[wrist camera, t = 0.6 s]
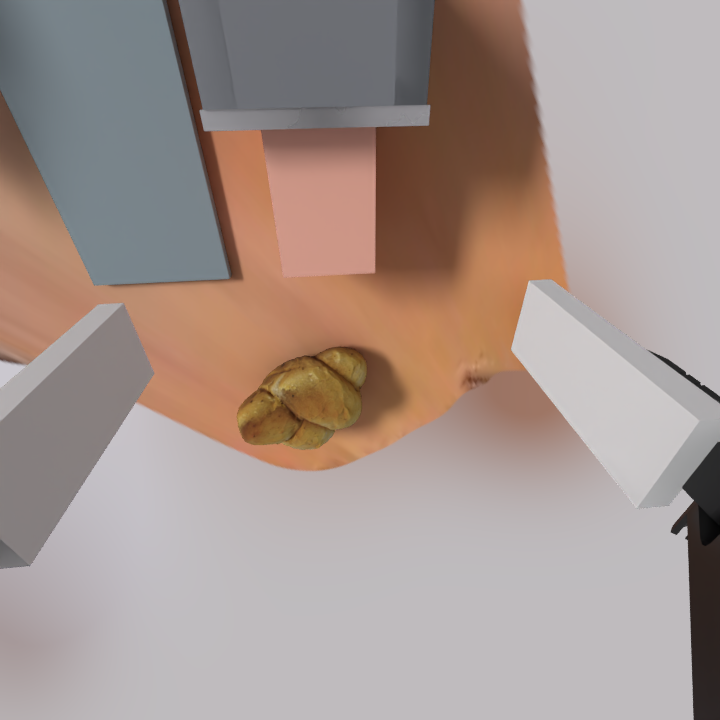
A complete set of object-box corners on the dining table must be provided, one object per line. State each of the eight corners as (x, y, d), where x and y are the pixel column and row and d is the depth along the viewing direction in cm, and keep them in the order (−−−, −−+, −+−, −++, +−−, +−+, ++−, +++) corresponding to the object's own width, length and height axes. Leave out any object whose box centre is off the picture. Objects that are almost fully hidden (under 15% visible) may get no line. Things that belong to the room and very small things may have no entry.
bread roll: (343, 319, 35) (348, 369, 28) (388, 385, 40) (400, 440, 33) (237, 376, 37) (219, 434, 31) (291, 430, 43) (286, 489, 36)
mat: (-45, -25, 20) (-57, -29, 19) (160, -25, 20) (154, -30, 20) (99, 281, 30) (94, 285, 30) (231, 275, 31) (229, 278, 30)
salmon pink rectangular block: (264, 28, 22) (241, -3, 16) (361, 27, 23) (376, -4, 16) (292, 239, 30) (283, 277, 23) (363, 236, 30) (375, 272, 24)
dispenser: (213, -57, 20) (132, -179, 11) (398, -57, 21) (453, -171, 12) (244, 122, 25) (203, 131, 16) (393, 118, 25) (429, 125, 17)
